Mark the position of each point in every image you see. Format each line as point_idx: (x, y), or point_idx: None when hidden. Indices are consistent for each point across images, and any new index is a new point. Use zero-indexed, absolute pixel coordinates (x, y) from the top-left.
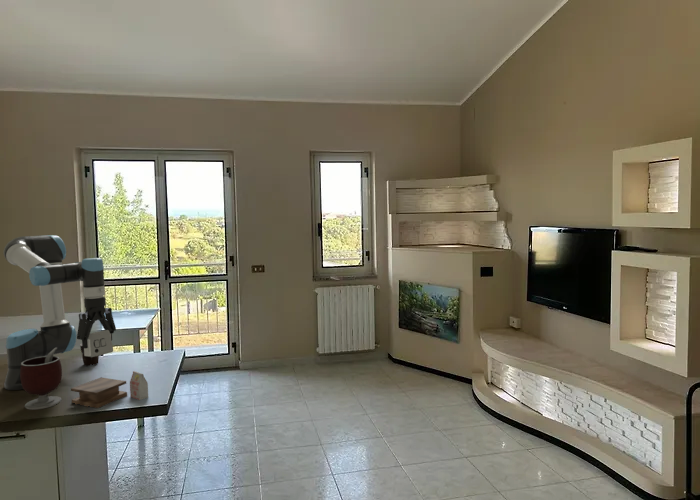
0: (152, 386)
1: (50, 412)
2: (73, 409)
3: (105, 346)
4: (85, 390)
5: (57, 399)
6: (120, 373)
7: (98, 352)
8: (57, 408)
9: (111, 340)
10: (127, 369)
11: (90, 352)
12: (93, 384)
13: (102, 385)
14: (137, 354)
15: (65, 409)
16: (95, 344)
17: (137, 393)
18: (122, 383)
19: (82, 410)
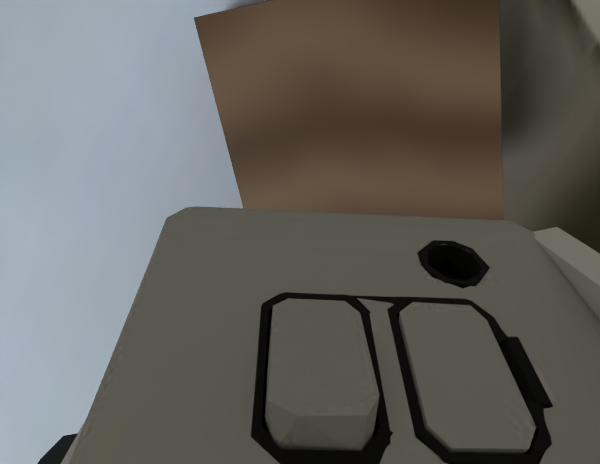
0: (12, 42)
1: (597, 171)
2: (521, 102)
3: (285, 283)
4: (495, 97)
5: None
6: (60, 415)
7: (419, 239)
8: (542, 197)
9: (70, 439)
10: (6, 441)
11: (570, 254)
12: (381, 178)
13: (362, 94)
14: None
15: (537, 144)
16: (498, 357)
17: None
18: (235, 8)
19: (513, 33)
